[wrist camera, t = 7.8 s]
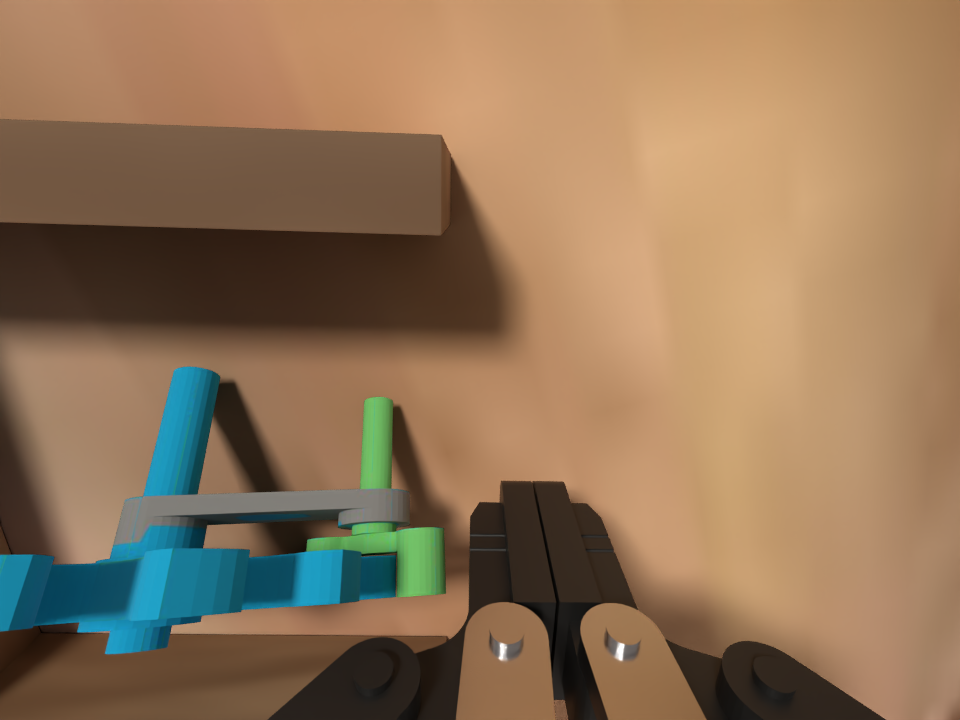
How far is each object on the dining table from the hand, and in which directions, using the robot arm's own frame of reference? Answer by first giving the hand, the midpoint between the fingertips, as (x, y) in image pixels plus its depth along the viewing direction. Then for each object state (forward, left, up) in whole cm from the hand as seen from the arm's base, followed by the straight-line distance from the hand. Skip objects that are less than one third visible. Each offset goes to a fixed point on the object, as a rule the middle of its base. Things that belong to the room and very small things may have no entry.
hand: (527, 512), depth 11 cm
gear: (+1, -7, -2) cm, 8 cm away
